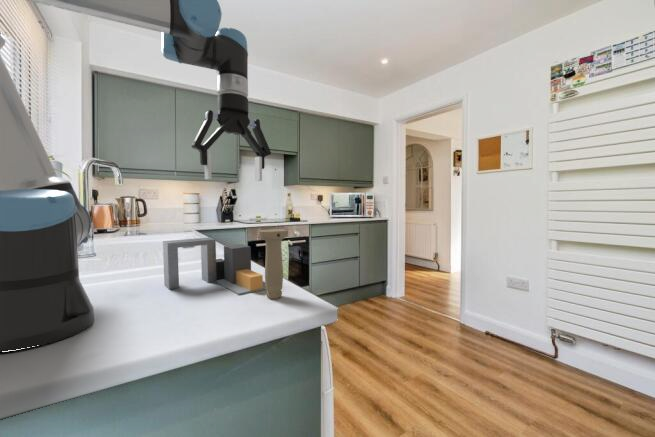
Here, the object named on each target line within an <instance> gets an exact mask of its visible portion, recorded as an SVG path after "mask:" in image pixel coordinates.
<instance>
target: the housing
mask: <svg viewBox="0 0 655 437" xmlns="http://www.w3.org/2000/svg"><path fill="white" fill-rule="evenodd" d="M216 242H217V241H216V238H212V237H201V238H187V239H175V240H164V241H162V253H163V254H162V256H163V258H162V259H163V278H164V279H163V280H164V282H163V284H164V286H165V287H166V288H167V289H168V290H169V291H170V290H175V289H179V288H180V278H179V277H180V275H179V251H178V250H179V248H188V247H197V246H200V254H201V256H200V258H201V260H200V261H201V263H200V264H201V280H203V281H205V282H207V283H214V282H216V280H221V279H225V277H224V258H217V249H216V248H217V247H216V246H217V244H216Z"/></svg>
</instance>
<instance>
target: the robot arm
mask: <svg viewBox="0 0 655 437" xmlns="http://www.w3.org/2000/svg"><path fill="white" fill-rule="evenodd" d="M26 1H28V2H30V3H36V4H40V5H45V6H48V7H52V8H53V7H54V8H58V9H61V10H66V11H71V12H74V13H79V14H83V15H87V16H91V17H95V18H100V19H103V20H108V21H112V22H116V23H120V24H125V25H129V26H133V27H137V28H141V29H146V30H151V31H154V32H155V31H156V32H159V33H161V52H162V53H161V54H162V55H163V57H164V58H165V59H166V60H169V61H173V62H176V63H179V64H185V65H190V66H193V67H194V66H195V67H196V66H197V67H200V68H203V69H209V70H213V71H214V70H215V71H216V79H217V80H216V82H217V83H216V84H217V85H216V86H217V88H216V90H217V91H216V92H217V94H218V95H217V113H216V112H213V110H212V109H211V110H210V109H209V110H208V111H206V112H205V113H204V119H203V120H204V121H203V123H202V124H201V127H200V128H199V130H198V132H197V134H196V136H195V138H194V139H193V142H192V144H191V148H192V149H195V150H197V151H198V152H199V155H200V156H199V160H200V161H199V162H200V165H201V166H204V180H212V179H213V177H212V152H211V151H208V150H209V149H210V148H211V146H212V145H214V143H215V142H216V141H217V140H218V139H219V138H220V137H221V136H222V135H223V133H226V134H229V135H230V134H233V135H236V136H238V135H240V136H241V137H242V138H243V139H244V140H245V141H246V143H247V144H248V145H249V146H250V147H249V148H251V150H252V151H253V153H254V154H255V155H256V157H254V181H255V182H262V181H263V170H264V169H265V167H266V166H265V158H266V157H268V156H271V154H272V152H271V149H270V147H269V145H268V142H267V139H266V137H265V134H264V132H263V130H262V128H261V121H260V119H259V118H256V119H250V118H249V98H248V97H249V79H248V78H249V76H248V74H249V73H248V72H249V71H248V68H249V67H248V66H249V65H248V56H249V51H248V42H247V38H246V36H245V34H244V33H243V32H241V31H240V30H239V29H237V28H232V27H229V28H228V27H221V28H220V25H221V21H222V15H223V13H222V9H221V5H220V3H219V1H218V0H26ZM5 45H6V40H5V37H4V35H3V32H2V30H1V29H0V50H1V49H2V48H3V47H4V46H5ZM215 121H217V122H218V124H219V126H218V127H217V128H216V129H215V131H214V132H213V133H212V134H211V135H210V136H209V137H208V138H207V139H206V140H205V141H204V142H203V140H204V138H206V135H207V133H208V131H209V129H210V127H211V125H212V123H213V122H215ZM249 126H250V128H251V130H252V131H251V130H250V129H249ZM252 132H253V134H254V136H253V135H252ZM254 137H255V138H254ZM202 142H203V144H202ZM91 228H92V218H91V215H90V213H89V211H88V210H87V209H86V207H85V206H83V205H82V203H81V202H80V200H79V198H78V196H77V193H76V191H75V189H74V187H73V185H72V183H71V182H70V180H68V179H65V178H63V177H60V176H59V175H58V174H57V173H56V170H55V168H54V166H53V164H52V161H51V159H50V158H49V155H48V153H47V151H46V148H45V147H44V145H43V142H42V140H41V138H40V136H39V133H38V131H37V130H36V127H35V124H34V123H33V122H32V119H31V117H30V115H29V112H28V109H26V106H25V104H24V102H23V100H22V97H21V95H20V93H19V91H18V88H17V87H16V84H15V83H14V80H13V78H12V76H11V74H10V72H9V69H8V67H7V65H6V63H5V61H4V59H3V57H2V55H1V53H0V352H2V351H8V350H16V349H21V348H27V347H32V346H37V345H42V346H44V345H43V344H45V345H48V344H47V343H49V344H52V343H55V342H57V341H58V342H59V341H60V340H64V339H66V338H69V337H72V336H74V335H76V334H78V333H80V332H83V331H84V330H86V329H87V328H89V327H90V326H91V325H92V324H93V323H94V321H95V312H94V311H95V310H94V306H93V304H92V302H91V300H90V298H89V296H88V293H87V292H86V290H85V287H84V286H83V284H82V282H81V280H80V279H81V278H80V273H79V272H80V271H79V253H78V252H79V251H78V247H79V246H81V245H82V244H83V243H84V242H85V241H86V240H87V239H88V237H89V234H90V233H91Z"/></svg>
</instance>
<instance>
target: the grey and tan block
mask: <svg viewBox="0 0 655 437" xmlns="http://www.w3.org/2000/svg"><path fill="white" fill-rule="evenodd" d="M251 247H252V246H249V245H247V244H243V243H240V244H231V245H223V260H224V277H225V280H226V281H228V282H230V283H232V284H236V283H237V284H238V285H240V286H242V287H244V288H246V289H248V290H250V291H252V290H257V289H262V288H263V279H264V277H263V276H264V275H263V274H261V273H259V272H256V271H253V270H252V253H251V252H252V250H251V249H252V248H251Z"/></svg>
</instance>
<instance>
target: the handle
mask: <svg viewBox="0 0 655 437" xmlns="http://www.w3.org/2000/svg"><path fill="white" fill-rule="evenodd" d="M288 236H289V230H288V229H286V228H274V229H260V230H258V237H259V238H260V239H262V240H264V241H265V259H264V260H265V261H264V262H265V263H264V264H265V265H264V280H265V281H264V282H265V283H266V289H265V290H266V294H265V295H266V297H267V299H271V300H273V299H274V300H277V299H279V298H281V297H282V295H283V290H282V289H283V284H284V283H283V282H284V270H283V269H284V268H283V267H284V266H283V256H282V255H283V253H282V241H283V239H285V238H286V237H288Z"/></svg>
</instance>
